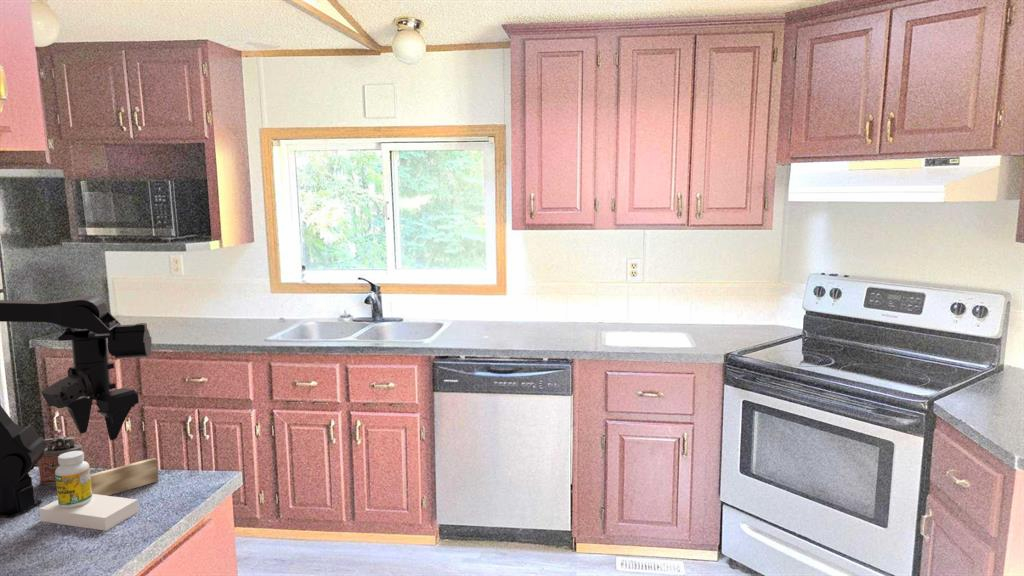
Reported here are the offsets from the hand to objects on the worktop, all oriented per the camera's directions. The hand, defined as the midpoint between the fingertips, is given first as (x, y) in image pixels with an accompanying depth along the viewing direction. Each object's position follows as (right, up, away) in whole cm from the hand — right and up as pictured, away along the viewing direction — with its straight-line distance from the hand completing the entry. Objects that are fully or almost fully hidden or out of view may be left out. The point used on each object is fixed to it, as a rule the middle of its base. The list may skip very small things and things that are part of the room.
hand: (98, 436), depth 124 cm
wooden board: (+2, -12, +5) cm, 13 cm away
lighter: (-14, -12, +9) cm, 20 cm away
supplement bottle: (-1, -12, -5) cm, 13 cm away
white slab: (+2, -14, -6) cm, 15 cm away
